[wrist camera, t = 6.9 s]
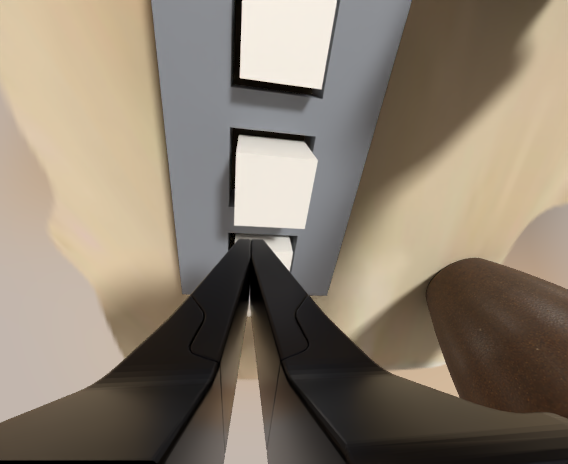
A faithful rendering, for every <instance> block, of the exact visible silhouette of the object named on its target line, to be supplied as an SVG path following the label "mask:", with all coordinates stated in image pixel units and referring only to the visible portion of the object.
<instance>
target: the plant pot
mask: <svg viewBox="0 0 568 464" xmlns="http://www.w3.org/2000/svg"><path fill="white" fill-rule="evenodd" d="M426 299H427V303H428V307H429V311H430V315H431V319H432V322H433V326H434V329H435V332H436V336H437V339H438V342H439V345H440V348H441V351H442V353H443V356H444V359H445V362H446V364H447V367H448V370H449V372H450V375H451V377H452V380H453V382H454V385H455V387H456V390H457V392H458V394H459V397H460V398H461V399H464V400H467V401H470V402H472V403H475V404H478V405H482V406H485V407H488V408H492V409H496V410H500V411H506V412H512V413H533V412H549V413H554V414H557V415H559V416H562V417H565V418H567V419H568V289H565V288H563V287H561V286H558V285H556V284H553V283H550V282H548V281H545V280H543V279H540V278H538V277H535V276H532V275H530V274H527V273H524V272H521V271H518V270H516V269H513V268H510V267H507V266H504V265H501V264H498V263H494V262H491V261H488V260H485V259H481V258H469V259H464V260H461V261H458V262H455V263H453V264H451V265H449V266H447V267H446V268H444V269H443V270H441V271H440V272H439V273H438V274H437V275H436V276H435V277H434V278H433V279H432V281H431V282H430V284H429V286H428V288H427V291H426Z"/></svg>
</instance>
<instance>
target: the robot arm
mask: <svg viewBox="0 0 568 464" xmlns="http://www.w3.org/2000/svg"><path fill="white" fill-rule="evenodd" d="M249 295H250V310H251V318H252V327H253V336H254V345H255V353H256V362H257V371H258V380H259V388H260V397H261V406H262V415H263V423H264V432H265V440H266V449H267V459H268V464H568V419H567V418H565V417H562V416H559V415H557V414H554V413H549V412H533V413H512V412H506V411H500V410H496V409H492V408H488V407H485V406H482V405H478V404H475V403H472V402H470V401H467V400H464V399H461V398H458V397H455V396H453V395H450V394H447V393H444V392H441V391H438V390H436V389H433V388H430V387H427V386H424V385H421V384H419V383H416V382H413V381H410V380H407V379H405V378H402V377H399V376H396V375H394V374H392V373H390V372H388V371H386V370H385V369H383V368H381V367H380V366H379V365H377V364H376V363H375V362H374V361H373V360H371V359H370V358H369V357H368V356H367V355H366V354H365V353H364V352H363V351H362V350H361V349H360V348H359V347H358V346H357V345H356V344H355V343H354V342H353V341H352V340H351V339H350V338H348V337H347V336H346V335H345V334H344V333H343V332H342V331H341V330H340V329H339V328H338V327H337V326H336V325H335V324H334V323H333V322H332V321H331V320H330V319H329V318H328V317H327V316H326V315H325V314H324V312H323V311H322V310H321V309H320V308H319V307H318V306H317V304H316V303H315V302H314V301H313V300H312V298H311V297H310V296H308V294H307V292H306V291H305V290H304V289H303V287H302V286H301V285H300V284H299V283H298V281H297V280H296V279H295V278H294V276H293V275H292V274H291V273H290V272H289V270H288V269H287V268H286V267H285V265H284V264H283V263H282V262H281V260H280V259H279V258H278V257H277V256H276V254H275V253H274V252H273V251H272V249H271V248H270V247H269V246H268V245H267V243H266V242H265V241H264V240H263V239H252V240H250V239H238V240H237V242H236V243H235V244H234V245H233V246H232V247H231V248H230V250H229V251H228V252H227V253H226V254H225V255H224V257H223V258H222V259H221V260H220V261H219V262H218V263H217V265H216V266H215V267H214V268H213V269H212V270H211V271H210V273H209V274H208V275H207V276H206V277H205V278H204V280H203V281H202V282H201V283H200V284H199V285H198V286H197V288H196V289H195V290H194V291H193V292H192V293H191V294H190V296H189V297H188V298H187V299H186V300H185V301H184V302H183V303H182V305H181V306H180V307H179V308H178V309H177V310H176V311H175V312H174V313H173V314H172V315H171V316H170V317H169V318H168V319H167V320H166V321H165V322H164V323H163V324H162V325H161V326H160V327H159V328H158V329H157V330H156V331H155V332H154V333H153V334H151V335H150V336H149V337H148V338H147V339H146V340H145V341H144V342H143V343H142V344H140V345H139V346H138V347H137V348H136V349H135V350H134V351H133V352H132V353H131V354H130V355H128V356H127V357H126V358H125V359H124V360H123V361H122V362H121V363H120V364H119V365H118V366H117V367H115V368H114V369H113V370H112V371H111V372H110V373H108V374H107V375H105V376H104V377H103V378H102V379H100V380H99V381H97V382H95V383H94V384H92V385H91V386H88V387H87V388H85V389H83V390H81V391H78V392H76V393H73V394H71V395H68V396H66V397H63V398H61V399H58V400H56V401H53V402H51V403H48V404H46V405H43V406H41V407H39V408H36V409H33V410H31V411H28V412H26V413H24V414H21V415H18V416H16V417H14V418H11V419H8V420H6V421H4V422H1V423H0V464H223V463H224V457H225V451H226V445H227V439H228V432H229V426H230V419H231V413H232V407H233V400H234V395H235V388H236V382H237V376H238V369H239V363H240V357H241V351H242V344H243V338H244V332H245V325H246V319H247V313H248V306H249Z"/></svg>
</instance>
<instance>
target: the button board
mask: <svg viewBox="0 0 568 464" xmlns="http://www.w3.org/2000/svg"><path fill="white" fill-rule="evenodd" d="M411 2H412V0H337V4H336V9H335V15H334V21H333V26H332V32H331V38H330V44H329V49H328V55H327V61H326V66H325V72H324V78H323V84H322V89H314V88H313V90H312V94H304V93H297V92H290V91H282V90H275V89H267V88H260V87H253V86H245V85H238V84H234V37H235V0H151V3H152V12H153V22H154V31H155V41H156V50H157V60H158V69H159V78H160V88H161V97H162V107H163V116H164V126H165V135H166V145H167V154H168V164H169V173H170V183H171V192H172V201H173V211H174V220H175V230H176V239H177V249H178V258H179V268H180V277H181V287H182V294H191V293H192V292H193V291H194V290H195V289H196V288H197V286H198V285H199V284H200V283H201V282H202V281H203V280H204V278H205V277H206V276H207V275H208V274H209V273H210V271H211V270H212V269H213V268H214V267H215V266H216V265H217V263H218V262H219V261H220V260H221V259H222V258H223V257H224V255H225V254H226V253H227V252H228V251H229V250H230V233H246V234H268V235H289V238H290V242H291V246H292V251H293V255H292V261H291V266H290V273H291V274H292V275H293V276H294V278H295V279H296V280H297V281H298V283H299V284H300V285H301V286H302V287H303V289H304V290H305V291H306V292H307V294H308V295H315V296H327V293H328V290H329V286H330V283H331V279H332V276H333V273H334V269H335V266H336V262H337V259H338V255H339V252H340V248H341V245H342V241H343V238H344V234H345V231H346V227H347V224H348V221H349V217H350V214H351V210H352V207H353V203H354V200H355V196H356V193H357V189H358V186H359V182H360V179H361V175H362V172H363V169H364V165H365V162H366V158H367V155H368V151H369V148H370V144H371V141H372V137H373V134H374V130H375V127H376V123H377V120H378V117H379V113H380V110H381V106H382V103H383V99H384V96H385V92H386V89H387V85H388V82H389V78H390V75H391V71H392V68H393V65H394V61H395V58H396V54H397V51H398V47H399V44H400V40H401V37H402V33H403V30H404V26H405V23H406V20H407V16H408V13H409V9H410V6H411ZM233 128H241V129H251V130H260V131H269V132H278V133H287V134H296V135H305V140H304V142H305V143H306V145H307V146H308V147H309V149H310V150H311V151H312V153H313V154H314V156H315V157H316V158H317V160H318V163H317V168H316V173H315V178H314V183H313V189H312V194H311V199H310V204H309V209H308V215H307V220H306V225H305V229H294V228H274V227H254V226H234V209H235V190H234V189H231V178H232V131H233Z"/></svg>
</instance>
